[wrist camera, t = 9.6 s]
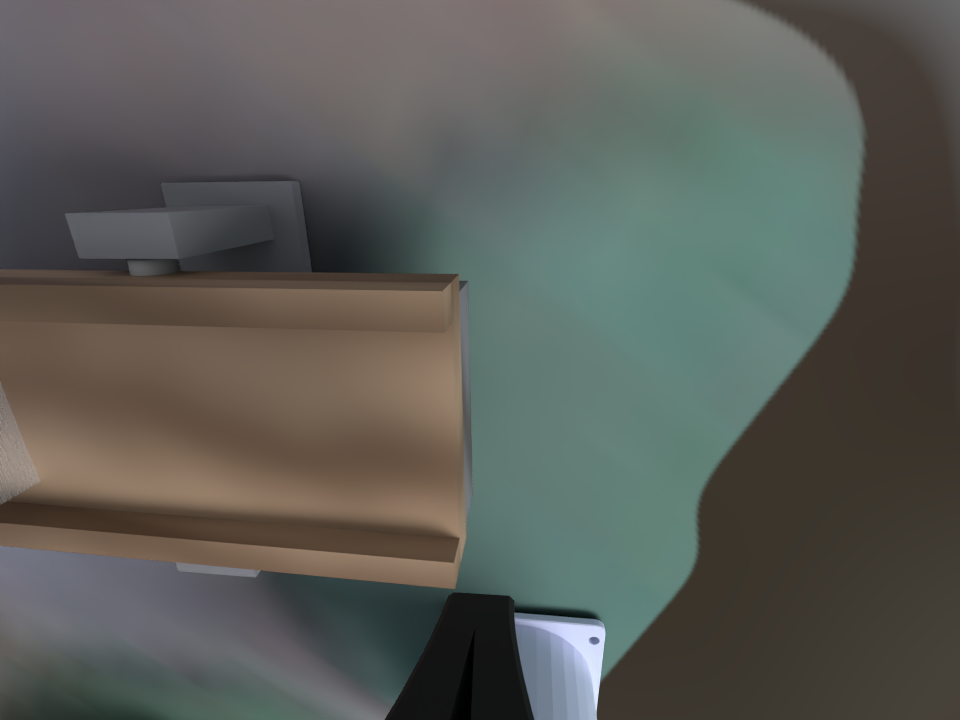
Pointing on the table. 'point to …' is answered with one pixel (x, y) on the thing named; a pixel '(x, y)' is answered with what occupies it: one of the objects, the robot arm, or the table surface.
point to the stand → (205, 241)
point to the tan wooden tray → (243, 418)
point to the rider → (13, 455)
